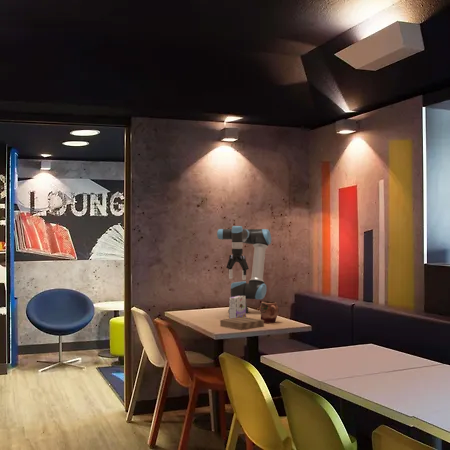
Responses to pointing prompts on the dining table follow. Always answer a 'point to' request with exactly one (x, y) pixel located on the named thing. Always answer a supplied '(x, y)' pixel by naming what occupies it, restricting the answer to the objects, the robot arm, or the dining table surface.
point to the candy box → (237, 306)
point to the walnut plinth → (242, 323)
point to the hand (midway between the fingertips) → (237, 279)
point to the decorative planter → (269, 311)
